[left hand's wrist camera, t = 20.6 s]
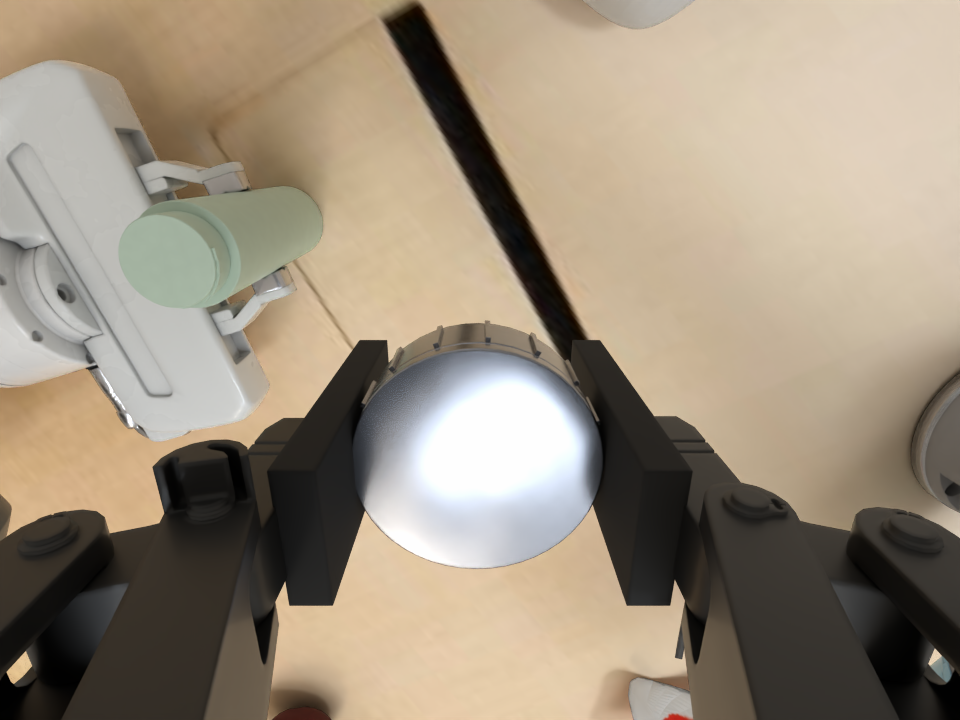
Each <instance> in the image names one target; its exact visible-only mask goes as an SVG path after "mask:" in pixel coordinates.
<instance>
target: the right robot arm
mask: <svg viewBox="0 0 960 720" xmlns="http://www.w3.org/2000/svg"><path fill="white" fill-rule="evenodd" d="M187 181H189V182H194V183H198V184H203V185H204V186H205V188H206V190H207V192H208V194H209V195H217V194H225V193H232V192H240V191H247V190H250V189H252V187H251V185H250V183H249V180H248V178H247V175H246V173H245V170H244V168H243V166H242V164H241V162H228V163H224V164H220V165H217V166H214V167H211V168H206V167H202V166H198V165H194V164H189V163H185V162H181V161H159V159H158V157H157V155H156V153H155V151H154V149H153V147H152V145H151V143H150V141H149V139H148V137H147V135H146V133H145V131H144V129H143V127H142V125H141V123H140V121H139V119H138V117H137V115H136V113H135V111H134V109H133V107H132V105H131V103H130V101H129V99H128V96H127V94H126V92H125V90H124V88H123V86H122V85H121V83H120V82H119V81H118V80H117V79H116V78H115V77H113V76H111V75H109V74H107V73H105V72H103V71H100V70H98V69H96V68H93V67H91V66H88V65H84V64H81V63H77V62H72V61H65V60H48V61H43V62H40V63H37V64H34V65H31V66H29V67H26V68H24V69H21V70H19V71H17V72H15V73H12V74H10V75H8V76H6V77H4V78H2V79H0V388H15V387H23V386H28V385H32V384H36V383H39V382H43V381H46V380H49V379H52V378H56V377H59V376H62V375H65V374H69V373H72V372H75V371H78V370H81V369H84V368H86V369H88V370H89V372H90V373H91V375H92V376H93V378H94V379H95V381H96V383H97V384H98V386H99V387H100V389H101V390H102V392H103V393H104V394H106V397H107V398H109V400H110V401H111V403H112V404H113V405H114V408H115V409H116V411H117V412H116V413H117V415H118V417H119V419H120V420H121V422H122V423H123V424H124V425H125V426H126V427H127V428H128V429H133V428H134V429H135V430H136V431H137V432H138V433H140V434H141V435H143V436H145V437H146V438H149V439H150V440H152V441H156V442H160V441H166V440H169V439H173V438H176V437H179V436H183V435H186V434H188V433H189V432H191V431H192V430H199V429H206V428H212V427H217V426H222V425H226V424H231V423H235V422H239V421H241V420H244V419H245V418H247V417H248V416H250V415H251V414H252V413H253V412H254V411H255V410H256V409H257V408H258V406H259V405H260V404H261V402H262V401H263V399H264V397H265V396H266V394H267V392H268V390H269V386H270V385H269V381H268V379H267V377H266V375H265V373H264V371H263V369H262V367H261V365H260V363H259V361H258V359H257V357H256V355H255V353H254V351H253V349H252V347H251V345H250V343H249V341H248V339H247V337H246V335H245V333H244V331H243V328H245V327H246V326H247V325H249V324H250V323H251V322H253V321H254V320H255V319H256V318H257V317H258V315H259V314H260V313H261V312H262V311H263V309H264V308H265V307H266V306H267V304H268V303H269V302H270V301H272V300H275V299H279V298H282V297H285V296H287V295H289V294H291V293H293V292H294V291H295V290H297V288H296V286H295V284H294V282H293V279H292V277H291V275H290V272H289V270H288V268H287V266H285V267H281V268H279V269H278V270H276V271H274V272H272V273H271V274H269V275H267V276H265V277H264V278H262V279H260V280H258V281H257V282H255V283H253V284H252V287H253V289H254V291H255V294H254V295H253V297H252V298H251V299H250V300H249V301H248V303H247V304H246V302H245V301H243V300H241V301H238V302H235V303H231V304H230V302H229V300H228V298H227V299H225V300H223V301H222V302H220V303H218V304H216V305H213V306H209V307H205V308H186V309H182V308H170V307H165V306H161V305H158V304H156V303H153V302H152V301H150V300H148V299H146V298H145V297H143V296H142V295H141V294H140V293H138V292H137V291H136V290H135V289H134V288H133V287H132V285H131V284H130V283H129V282H128V280H127V279H126V277H125V275H124V273H123V271H122V268H121V266H120V262H119V255H118V248H119V242H120V239H121V236H122V234H123V232H124V230H125V229H126V228H127V227H128V225H129V224H131V223H132V222H133V221H135V220H136V219H138V218H139V217H140V216H141V214H142V213H143V212H144V211H146V210H147V209H148V208H150V207H151V206H153V205H155V204H158V203H161V202H165V201H171V200H178V197H177V195H176V193H175V191H176V190H179V189H182V188H184V187H187V186H188V182H187ZM11 510H12V509H11V505H10V504H9V503H8V502H7V501H6V500H5V499H4V498H3V497H2V495H1V494H0V541H1V540H3V539H4V538H5V537H6V535H7V531H8V527H9V522H10V516H11Z"/></svg>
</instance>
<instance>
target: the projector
mask: <svg viewBox="0 0 960 720" xmlns="http://www.w3.org/2000/svg"><path fill="white" fill-rule="evenodd" d="M583 1H584V2H585V3H586V4H588V5H589V6H590V7H591V8H592V9H594V10H595V11H596V12H597V13H599V14H600V15H602V16H603V17H605V18H606V19H608V20H609V21H611V22H613V23H615V24H617V25H620V26H622V27H626V28H630V29H645V28H649V27H652V26H655V25H657V24H660V23H662V22H664V21H666V20H667V19H669V18H671V17H672V16H674V15H676V14H677V13H678V12H680V11H681V10H683V9H684V8H685V7H687V6H688V5H690V4H691V3H692V2H693V1H694V0H583Z"/></svg>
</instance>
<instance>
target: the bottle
mask: <svg viewBox="0 0 960 720" xmlns="http://www.w3.org/2000/svg"><path fill="white" fill-rule="evenodd" d="M322 231H323V220H322V215H321V212H320V210H319V208H318V206H317V205H316V203H315V202H314V201H313V199H312V198H311V197H310V196H309V195H307V194H306V193H305V192H303V191H301V190H299V189H297V188H294V187H289V186H278V187H271V188H263V189H255V190H248V191H240V192H232V193H225V194H217V195H209V196H201V197H194V198H186V199H178V200H171V201H165V202H161V203H158V204H155V205H153V206H151V207H150V208H148V209H147V210H146V211H144V212H143V213H142V214H141V216H140V217H139V218H138V219H136V220H135V221H133V222H132V223H131V224H129V225H128V227H127V228H126V229H125V230H124V232H123V234H122V236H121V239H120V242H119V248H118V255H119V262H120V266H121V268H122V271H123V273H124V275H125V277H126V279H127V280H128V282H129V283H130V284H131V285H132V287H133V288H134V289H135V290H136V291H137V292H138V293H140V294H141V295H142V296H143V297H145V298H146V299H148V300H150V301H152V302H153V303H156V304H158V305H161V306H165V307H170V308H182V309H186V308H205V307H209V306H213V305H216V304H218V303H220V302H222V301H223V300H225V299H227V298H229V297H230V296H232V295H234V294H236V293H237V292H239V291H241V290H243V289H244V288H246V287H248V286H250V285H251V284H253V283H255V282H257V281H258V280H260V279H262V278H264V277H265V276H267V275H269V274H271V273H272V272H274V271H276V270H278V269H279V268H281V267H283V266H285V265H286V264H288V263H290V262H292V261H293V260H295V259H297V258H299V257H300V256H302V255H304V254H306V253H307V252H309V251H311V250H312V249H313V248H314V247H315V246H316V245H317V243H318V242H319V240H320V238H321V235H322Z"/></svg>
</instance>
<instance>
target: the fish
mask: <svg viewBox="0 0 960 720" xmlns="http://www.w3.org/2000/svg"><path fill="white" fill-rule="evenodd" d="M628 697H629V703H630V707H631V712H632V716H633V720H693V714H692V706H691V698H690V691H688V690H684V689H681V688H678V687H675V686H672V685H668V684H664V683H660V682H657V681H653V680H649V679H646V678H638V677H637V678H635V679H633V680H632V681H631V682H630V684H629V692H628Z"/></svg>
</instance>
